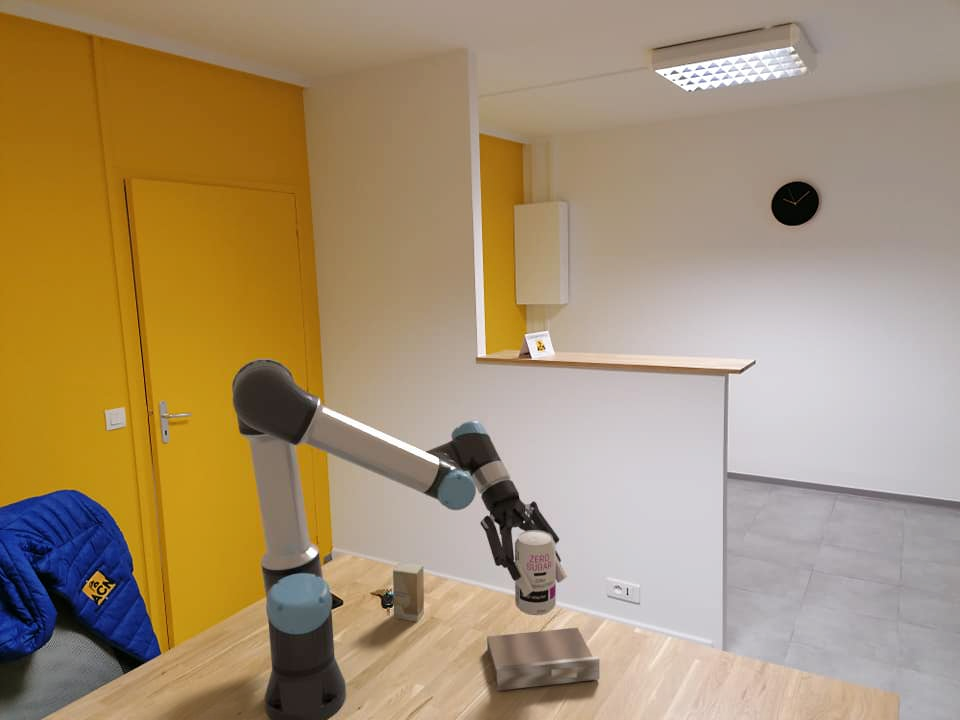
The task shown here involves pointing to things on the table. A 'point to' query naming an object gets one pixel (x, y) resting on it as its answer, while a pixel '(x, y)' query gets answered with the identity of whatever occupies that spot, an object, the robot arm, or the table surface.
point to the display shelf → (541, 658)
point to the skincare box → (408, 591)
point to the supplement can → (536, 571)
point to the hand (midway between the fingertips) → (546, 586)
